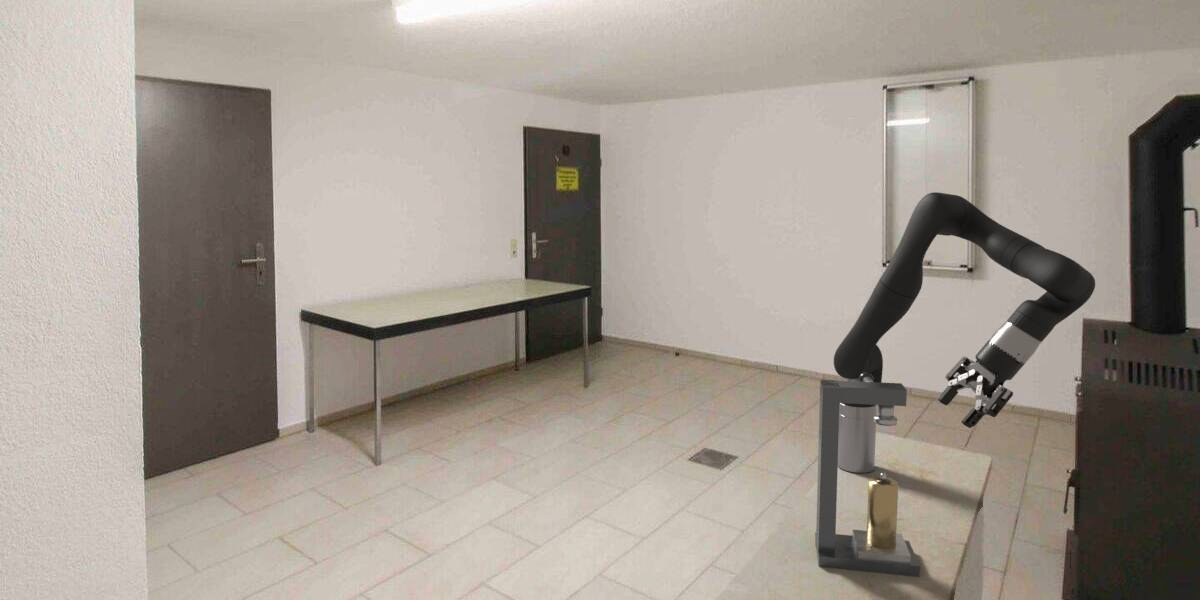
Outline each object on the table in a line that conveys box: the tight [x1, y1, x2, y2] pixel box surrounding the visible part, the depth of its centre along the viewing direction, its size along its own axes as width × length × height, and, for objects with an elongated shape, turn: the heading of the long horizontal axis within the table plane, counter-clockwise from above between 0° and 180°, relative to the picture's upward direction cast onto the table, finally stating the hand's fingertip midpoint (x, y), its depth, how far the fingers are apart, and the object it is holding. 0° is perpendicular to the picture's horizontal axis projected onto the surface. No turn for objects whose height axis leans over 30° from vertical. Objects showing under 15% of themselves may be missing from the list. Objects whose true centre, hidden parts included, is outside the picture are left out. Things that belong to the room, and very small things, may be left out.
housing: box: [866, 472, 899, 549], centre depth 130 cm, size 5×5×14 cm
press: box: [814, 372, 921, 577], centre depth 133 cm, size 18×18×34 cm
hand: (953, 414), depth 138 cm, fingers open, 8 cm apart
